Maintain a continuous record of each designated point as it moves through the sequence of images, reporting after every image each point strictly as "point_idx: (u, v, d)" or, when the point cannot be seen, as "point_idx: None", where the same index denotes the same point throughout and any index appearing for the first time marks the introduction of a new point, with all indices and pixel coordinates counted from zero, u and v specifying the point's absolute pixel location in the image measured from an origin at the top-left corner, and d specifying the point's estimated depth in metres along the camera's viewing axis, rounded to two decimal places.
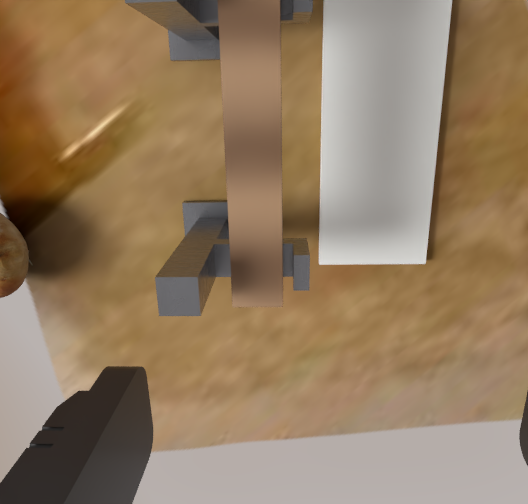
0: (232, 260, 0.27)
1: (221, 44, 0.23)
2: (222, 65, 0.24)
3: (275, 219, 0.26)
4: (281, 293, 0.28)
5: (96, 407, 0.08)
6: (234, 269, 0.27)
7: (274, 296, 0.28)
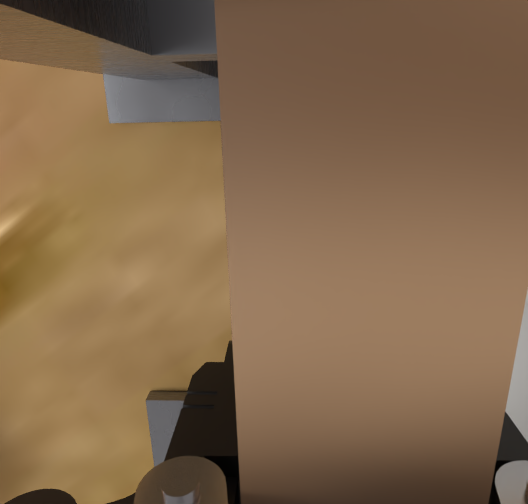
0: None
1: (233, 185, 0.04)
2: (237, 278, 0.05)
3: None
4: None
5: None
6: None
7: None
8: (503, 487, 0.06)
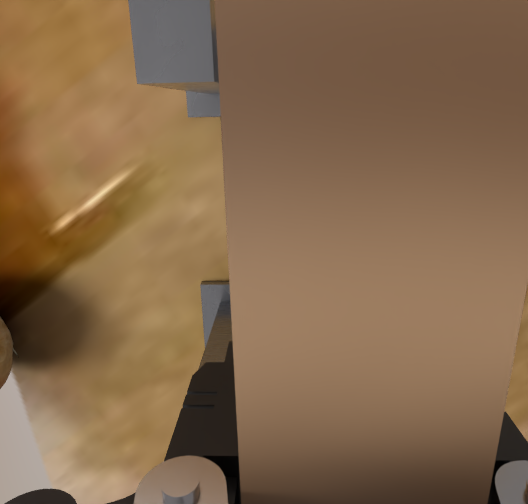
0: None
1: (233, 186, 0.05)
2: (237, 279, 0.05)
3: None
4: None
5: None
6: None
7: None
8: (503, 488, 0.06)
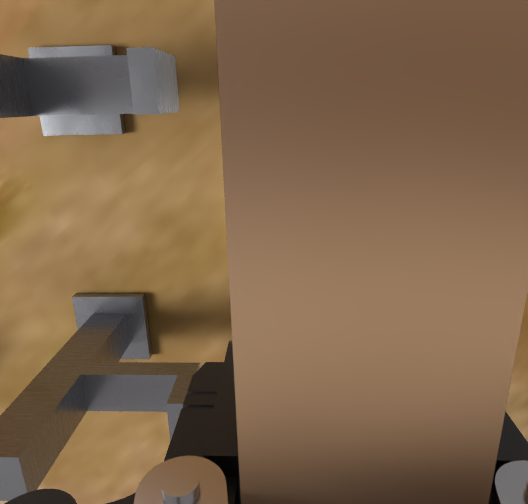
0: None
1: (233, 188, 0.04)
2: (237, 281, 0.05)
3: None
4: None
5: None
6: None
7: None
8: (504, 487, 0.06)
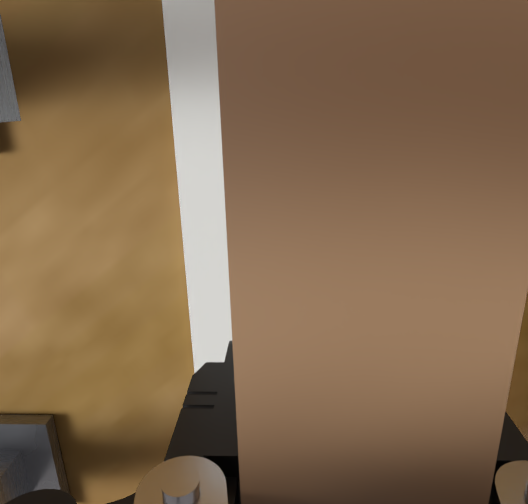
0: None
1: (233, 189, 0.04)
2: (237, 282, 0.05)
3: None
4: None
5: None
6: None
7: None
8: (503, 488, 0.06)
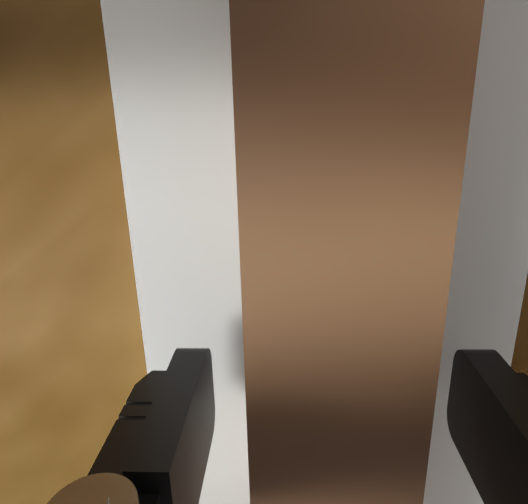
0: None
1: (242, 158, 0.06)
2: (244, 227, 0.07)
3: None
4: None
5: (177, 383, 0.08)
6: None
7: None
8: None
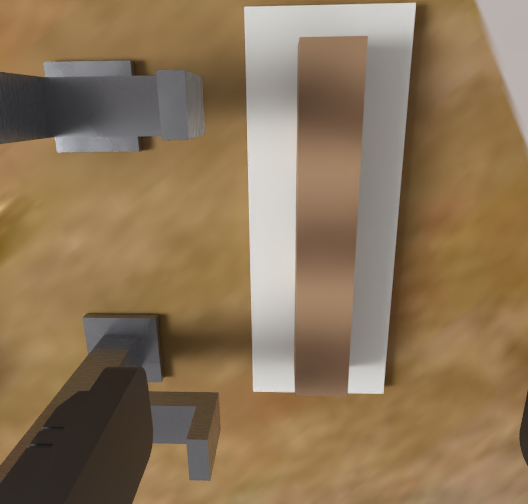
0: (297, 350, 0.26)
1: (300, 140, 0.22)
2: (299, 160, 0.23)
3: (345, 311, 0.25)
4: (346, 383, 0.27)
5: (96, 407, 0.08)
6: (299, 359, 0.26)
7: (339, 386, 0.27)
8: None
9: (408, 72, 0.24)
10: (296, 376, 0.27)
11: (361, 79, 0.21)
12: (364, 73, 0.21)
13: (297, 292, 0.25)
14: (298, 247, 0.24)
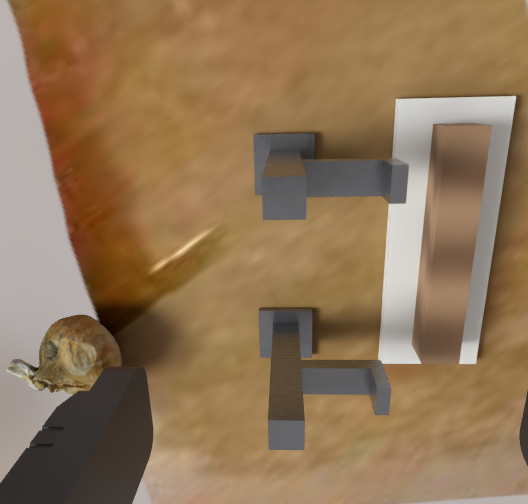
0: (426, 331, 0.38)
1: (441, 190, 0.34)
2: (440, 203, 0.34)
3: (462, 304, 0.37)
4: (459, 354, 0.38)
5: (96, 407, 0.08)
6: (427, 337, 0.38)
7: (453, 356, 0.38)
8: None
9: (508, 140, 0.35)
10: (424, 350, 0.38)
11: (485, 152, 0.33)
12: (488, 148, 0.33)
13: (430, 291, 0.36)
14: (433, 261, 0.36)
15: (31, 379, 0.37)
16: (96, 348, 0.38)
